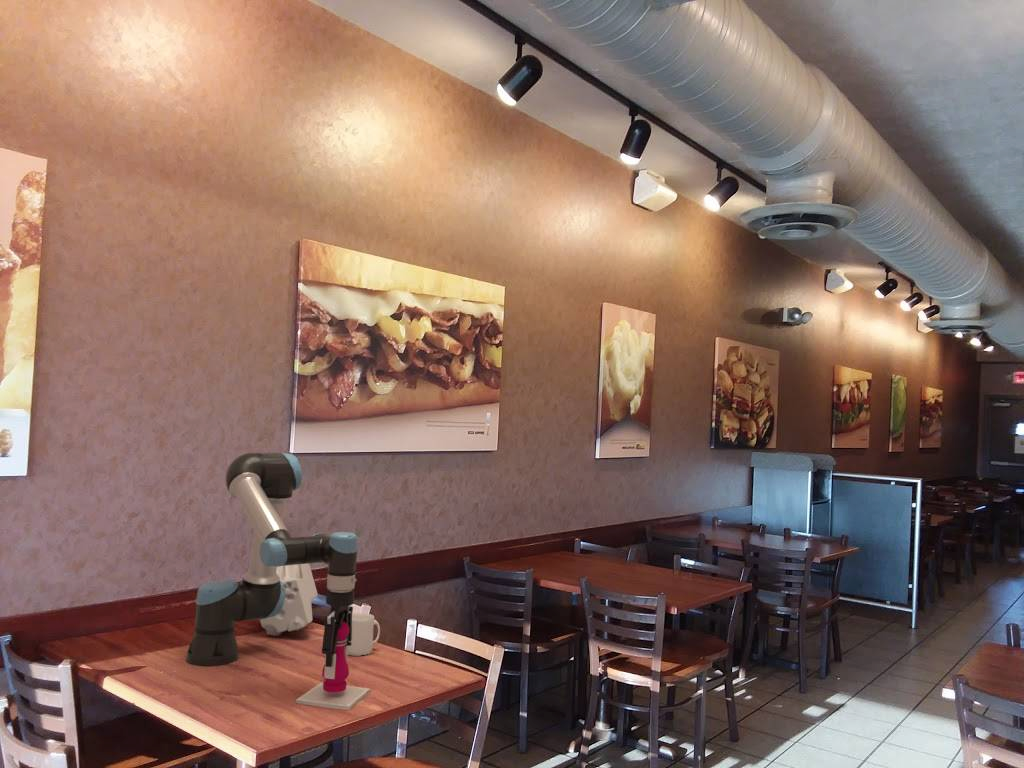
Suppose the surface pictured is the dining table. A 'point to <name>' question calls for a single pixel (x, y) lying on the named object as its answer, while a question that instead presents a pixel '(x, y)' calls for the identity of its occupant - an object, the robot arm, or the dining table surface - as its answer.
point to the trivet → (333, 697)
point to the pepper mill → (338, 663)
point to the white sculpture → (293, 600)
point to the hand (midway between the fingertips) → (335, 673)
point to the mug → (362, 634)
